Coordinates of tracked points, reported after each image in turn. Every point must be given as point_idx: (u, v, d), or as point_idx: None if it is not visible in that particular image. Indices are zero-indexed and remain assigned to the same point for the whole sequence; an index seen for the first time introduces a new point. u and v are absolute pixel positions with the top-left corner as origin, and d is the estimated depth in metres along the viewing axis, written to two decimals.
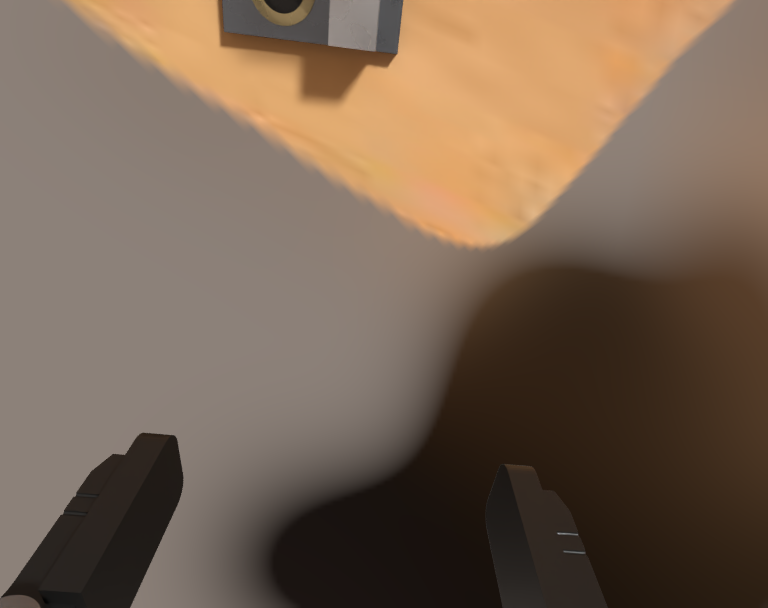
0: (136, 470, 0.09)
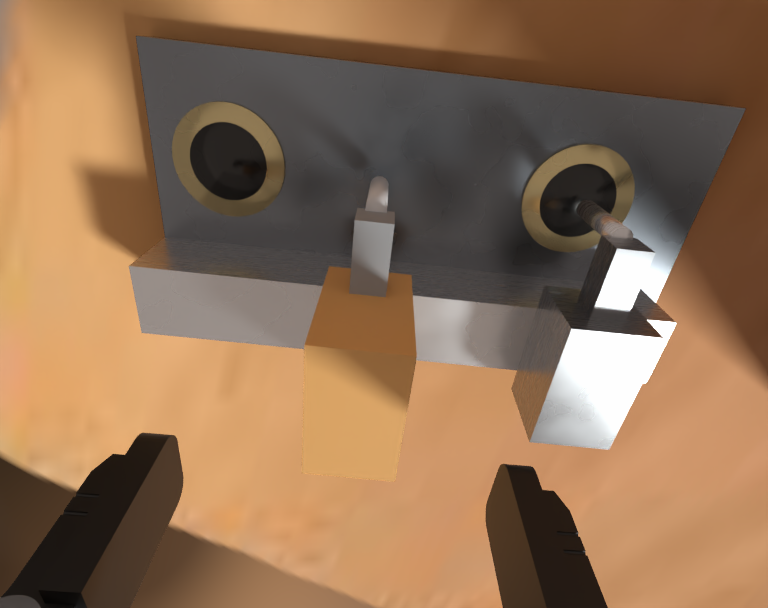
0: (136, 470, 0.09)
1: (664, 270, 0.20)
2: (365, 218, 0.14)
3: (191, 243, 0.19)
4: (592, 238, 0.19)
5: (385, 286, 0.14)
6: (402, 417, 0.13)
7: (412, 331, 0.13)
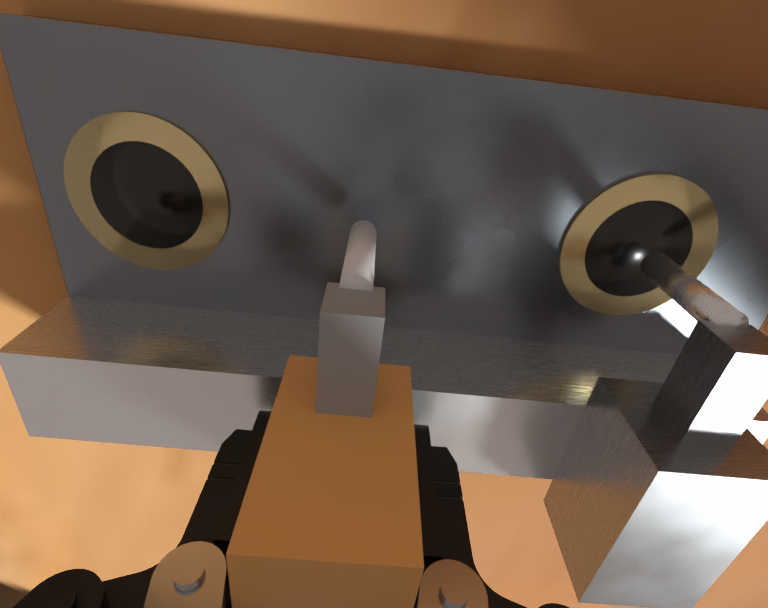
0: None
1: None
2: (338, 307, 0.08)
3: (104, 305, 0.14)
4: (653, 297, 0.14)
5: (371, 403, 0.09)
6: None
7: (415, 499, 0.08)
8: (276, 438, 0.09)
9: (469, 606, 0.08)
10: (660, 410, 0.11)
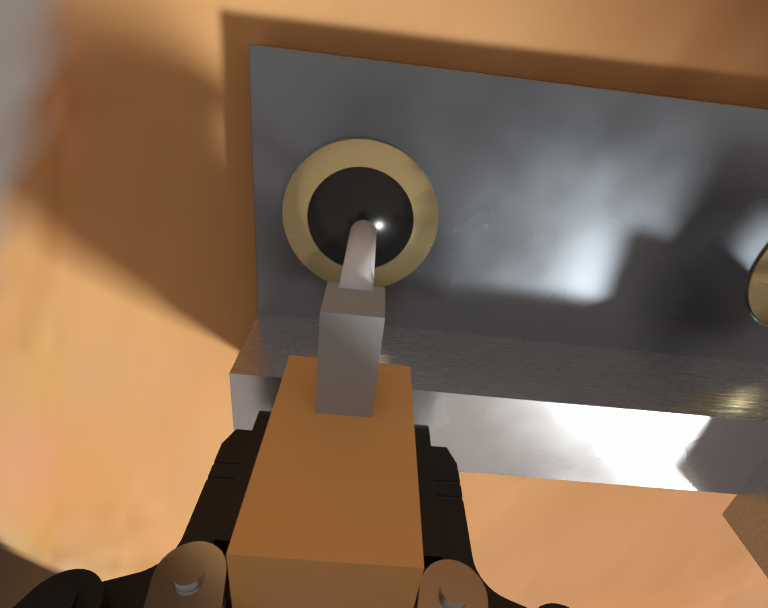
0: None
1: None
2: (338, 307, 0.08)
3: (295, 323, 0.14)
4: None
5: (371, 403, 0.09)
6: None
7: (415, 499, 0.08)
8: (276, 438, 0.09)
9: (469, 606, 0.08)
10: None
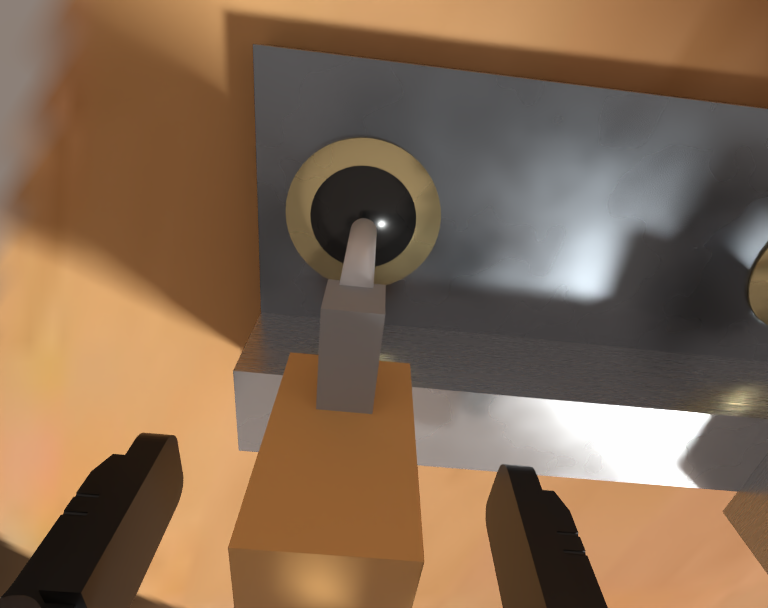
0: (136, 470, 0.09)
1: None
2: (339, 304, 0.08)
3: (298, 322, 0.14)
4: None
5: (371, 400, 0.09)
6: None
7: (415, 494, 0.08)
8: (277, 434, 0.09)
9: None
10: None
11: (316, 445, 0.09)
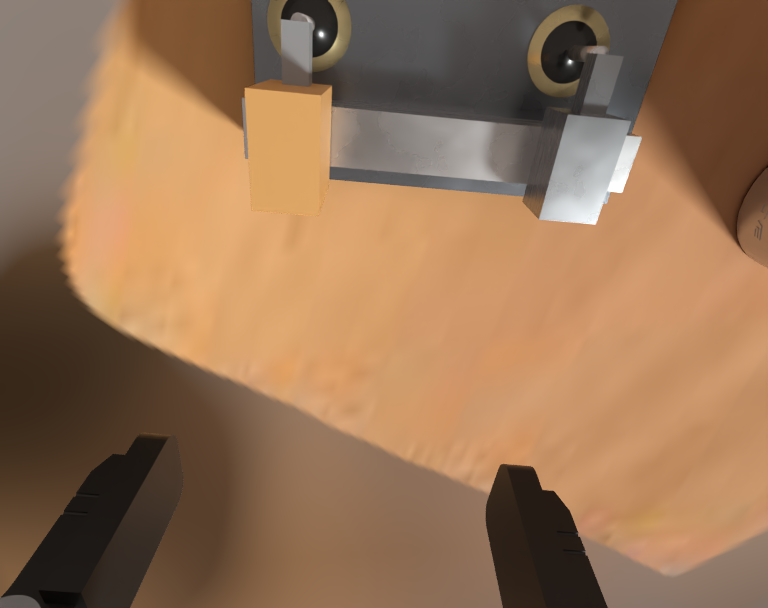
0: (136, 470, 0.09)
1: (634, 112, 0.26)
2: (289, 20, 0.19)
3: None
4: None
5: (307, 76, 0.20)
6: (317, 152, 0.19)
7: (322, 92, 0.19)
8: (263, 83, 0.20)
9: None
10: (574, 108, 0.22)
11: (281, 86, 0.19)
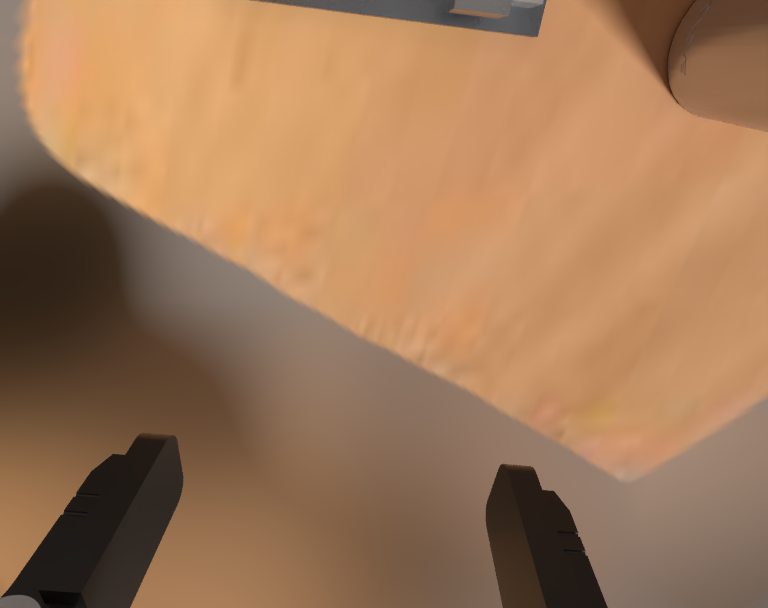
0: (136, 470, 0.09)
1: None
2: None
3: None
4: None
5: None
6: None
7: None
8: None
9: None
10: None
11: None
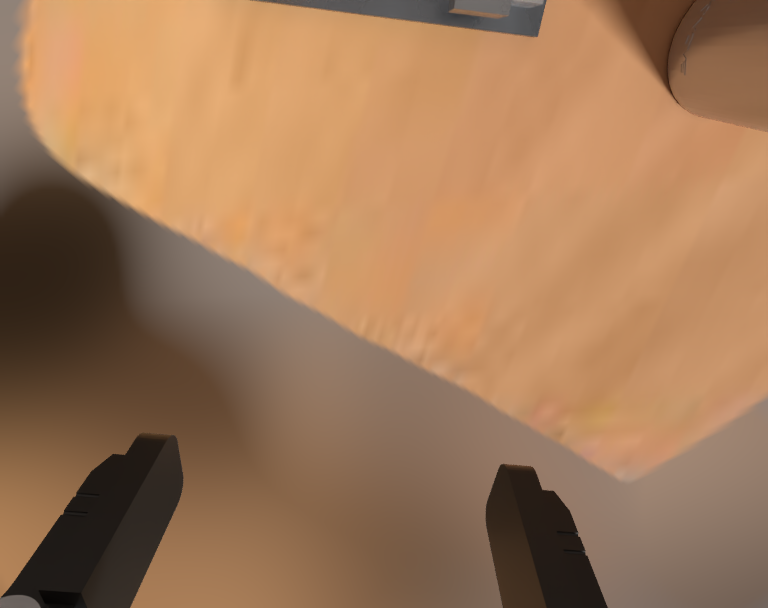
0: (136, 470, 0.09)
1: None
2: None
3: None
4: None
5: None
6: None
7: None
8: None
9: None
10: None
11: None
